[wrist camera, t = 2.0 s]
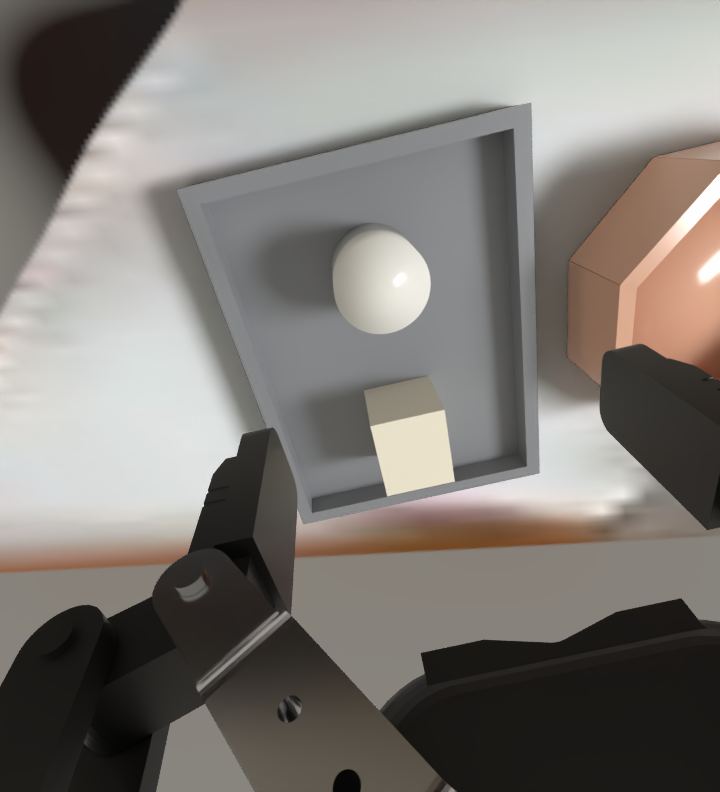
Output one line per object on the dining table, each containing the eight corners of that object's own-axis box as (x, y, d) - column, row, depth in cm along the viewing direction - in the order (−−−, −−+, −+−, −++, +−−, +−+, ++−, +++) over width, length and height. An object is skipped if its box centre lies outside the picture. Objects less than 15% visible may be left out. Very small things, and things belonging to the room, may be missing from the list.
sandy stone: (363, 390, 28) (370, 426, 24) (428, 375, 28) (444, 409, 24) (379, 455, 30) (387, 496, 27) (439, 441, 30) (454, 481, 27)
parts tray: (187, 186, 22) (176, 190, 20) (514, 105, 22) (531, 102, 20) (304, 503, 32) (303, 524, 31) (527, 454, 32) (539, 473, 30)
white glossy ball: (322, 234, 23) (322, 250, 20) (407, 213, 23) (423, 226, 20) (342, 315, 25) (345, 343, 22) (420, 297, 25) (436, 322, 22)
